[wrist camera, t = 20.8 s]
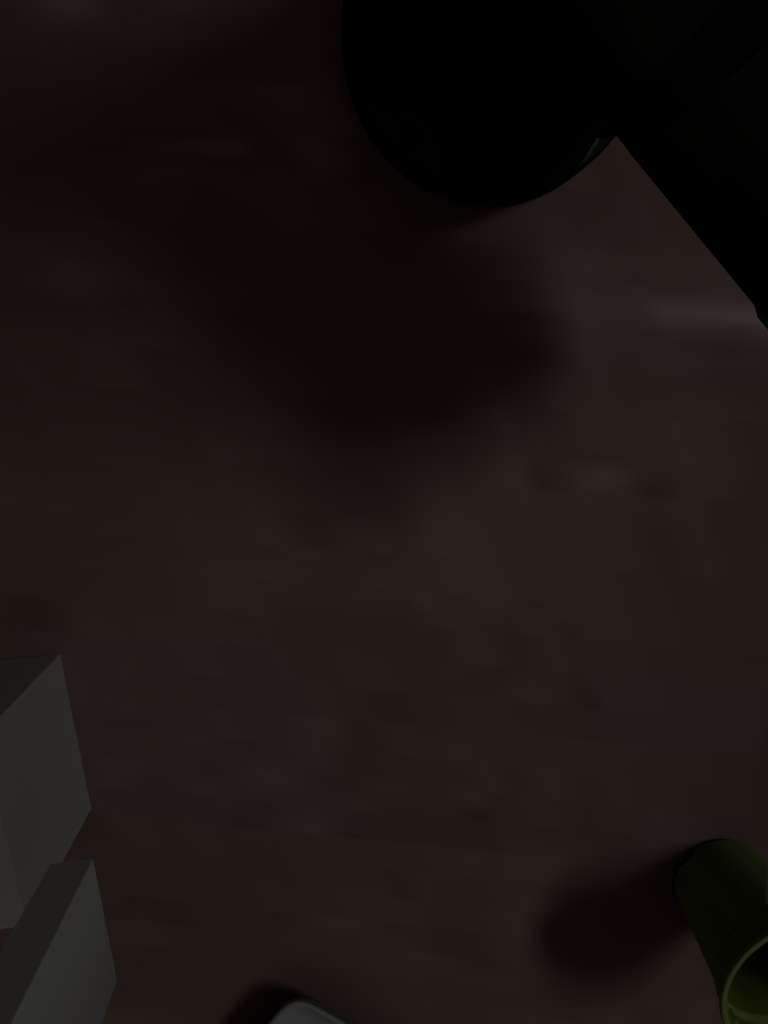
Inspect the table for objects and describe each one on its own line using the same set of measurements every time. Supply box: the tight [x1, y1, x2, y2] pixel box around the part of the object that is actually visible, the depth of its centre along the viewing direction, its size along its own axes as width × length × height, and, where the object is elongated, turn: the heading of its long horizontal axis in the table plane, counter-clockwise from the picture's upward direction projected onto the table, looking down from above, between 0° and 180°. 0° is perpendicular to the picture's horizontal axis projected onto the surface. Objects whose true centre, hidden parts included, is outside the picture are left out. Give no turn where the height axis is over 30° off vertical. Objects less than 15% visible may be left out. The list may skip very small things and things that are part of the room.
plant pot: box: [675, 840, 768, 1024], centre depth 41 cm, size 9×9×9 cm
